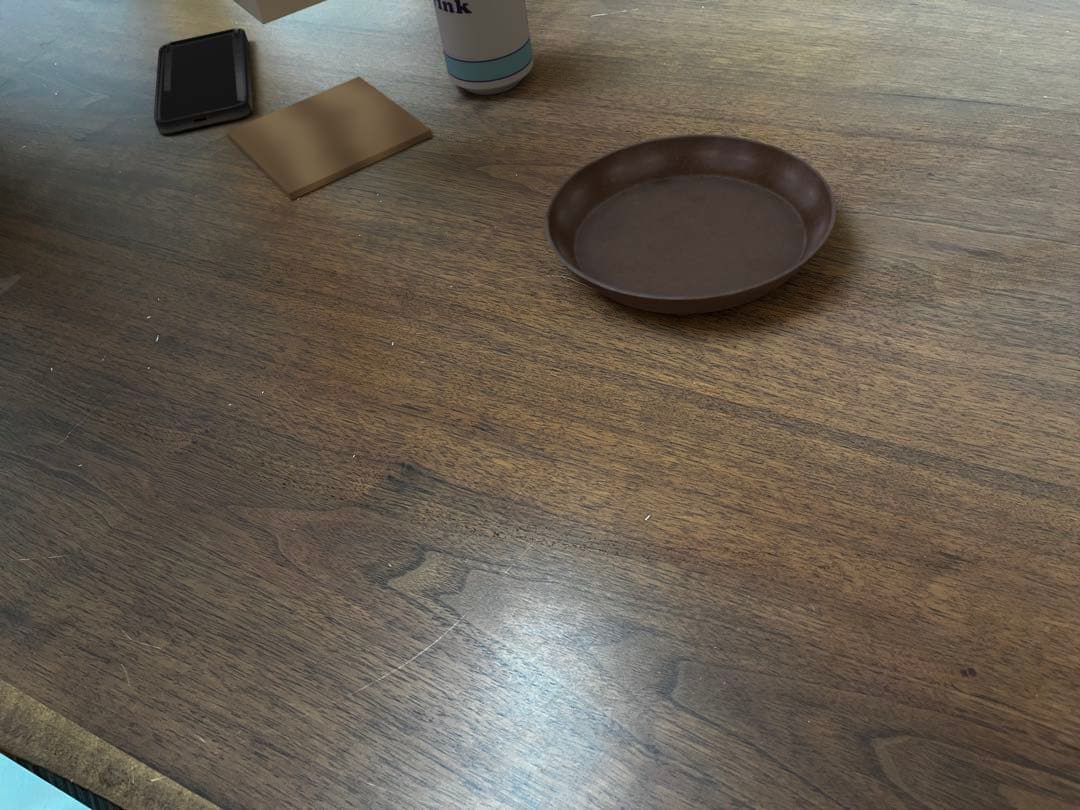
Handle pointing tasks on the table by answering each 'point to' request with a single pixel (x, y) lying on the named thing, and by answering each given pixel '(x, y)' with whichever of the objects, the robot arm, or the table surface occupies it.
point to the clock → (274, 8)
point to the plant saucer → (690, 222)
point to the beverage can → (485, 43)
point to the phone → (203, 81)
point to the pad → (327, 136)
